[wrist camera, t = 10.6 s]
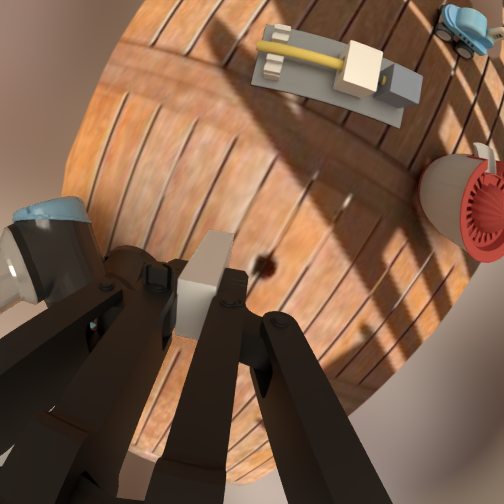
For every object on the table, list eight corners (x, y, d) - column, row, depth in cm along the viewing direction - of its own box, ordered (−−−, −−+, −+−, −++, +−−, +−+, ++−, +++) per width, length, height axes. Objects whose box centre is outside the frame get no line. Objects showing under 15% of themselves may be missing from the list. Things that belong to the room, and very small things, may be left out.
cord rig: (251, 84, 40) (247, 73, 33) (266, 25, 36) (265, 5, 28) (398, 128, 41) (420, 127, 33) (408, 70, 36) (430, 61, 29)
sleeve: (332, 89, 39) (343, 80, 32) (340, 53, 36) (351, 40, 30) (361, 98, 39) (375, 91, 32) (368, 63, 36) (382, 52, 30)
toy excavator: (486, 80, 34) (540, 73, 18) (427, 30, 32) (475, 3, 16) (491, 54, 31) (541, 43, 15) (434, 6, 29) (478, -23, 13)
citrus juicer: (470, 145, 40) (541, 155, 21) (465, 229, 46) (527, 267, 27) (407, 135, 41) (477, 137, 22) (405, 230, 47) (464, 276, 29)
